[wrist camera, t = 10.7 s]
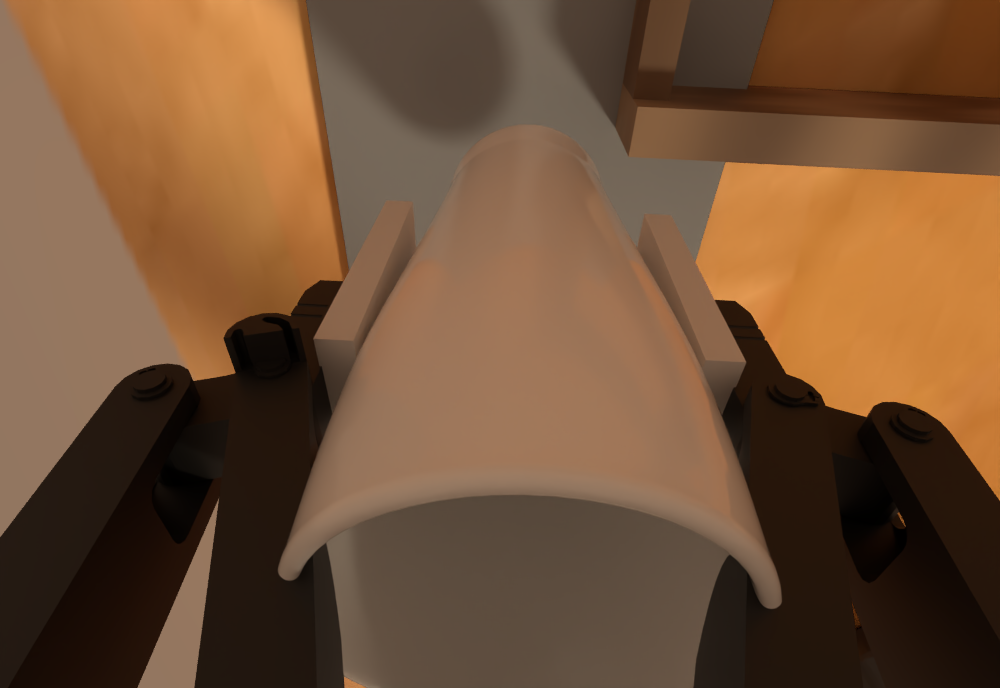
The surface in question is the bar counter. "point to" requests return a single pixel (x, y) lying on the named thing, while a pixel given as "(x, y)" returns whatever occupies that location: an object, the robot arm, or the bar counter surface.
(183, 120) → the bar counter surface
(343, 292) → the robot arm
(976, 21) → the bar counter surface
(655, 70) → the brown wooden open box
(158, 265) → the bar counter surface
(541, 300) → the drinking glass
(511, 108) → the coaster
